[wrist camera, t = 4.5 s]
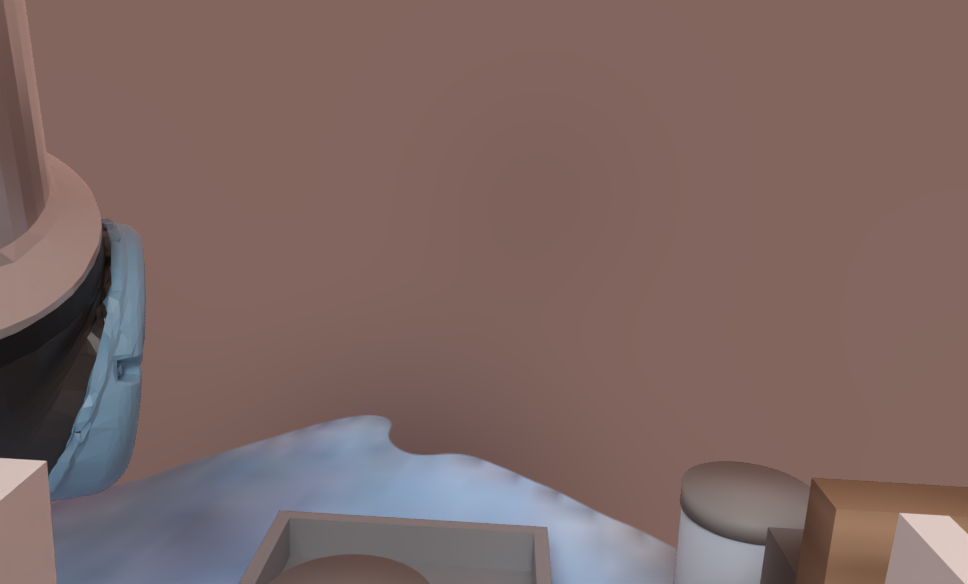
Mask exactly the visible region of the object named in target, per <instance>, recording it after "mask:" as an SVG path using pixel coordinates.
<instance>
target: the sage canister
mask: <svg viewBox="0 0 968 584" xmlns="http://www.w3.org/2000/svg"><path fill="white" fill-rule="evenodd" d="M269 584H430V583H429V582H428V581H427V580H426V579H425V577H424V576H422V575H421V574H420V573H419V572H417V571H416V570H414V569H413V568H411V567H409V566H407V565H405V564H403V563H401V562H398V561H395V560H392V559H388V558H384V557H379V556H373V555H363V554H345V555H334V556H327V557H322V558H318V559H314V560H310V561H307V562H304V563H302V564H299V565H297V566H295V567H292V568H290V569H288V570H287V571H285V572H283V573H282V574H280V575H279V576H277V577H276V578H275V579H273V580H272V581H271V582H270V583H269Z"/></svg>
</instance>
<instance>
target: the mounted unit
mask: <svg viewBox="0 0 968 584" xmlns="http://www.w3.org/2000/svg"><path fill="white" fill-rule="evenodd" d="M899 513H909V514H926V515H942V516H950V517H951V518H952V519H953V520H954V521H955V522H956V523H957V524H958V525H959V526H960V527H961V528H962V529H963V530H964V531H965V532H966V533H967V534H968V487H956V486H940V485H924V484H907V483H891V482H874V481H858V480H841V479H824V478H812V481H811V487H810V493H809V500H808V506H807V513H806V519H805V525H804V529H792V528H775V527H768V531H767V538H766V545H765V552H764V558H763V565H762V572H761V579H760V584H885V580H886V575H887V571H888V566H889V561H890V556H891V551H892V546H893V542H894V537H895V532H896V527H897V522H898V517H899Z"/></svg>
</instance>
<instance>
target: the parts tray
mask: <svg viewBox="0 0 968 584" xmlns="http://www.w3.org/2000/svg"><path fill="white" fill-rule="evenodd" d="M345 554H363V555H373V556H379V557H384V558H388V559H392V560H395V561H398V562H401V563H403V564H405V565H407V566H409V567H411V568H413V569H414V570H416V571H417V572H419V573H420V574H421V575H422V576H424V577H425V579H426V580H427V581H428V582H429V583H430V584H552V578H551V566H550V554H549V542H548V530H547V527H537V526H521V525H505V524H489V523H473V522H456V521H440V520H424V519H408V518H392V517H376V516H359V515H343V514H327V513H311V512H295V511H279V513H278V514H277V516H276V518H275V520H274V521H273V523H272V525H271V527H270V529H269V530H268V532H267V534H266V536H265V538H264V539H263V541H262V543H261V545H260V547H259V548H258V550H257V552H256V554H255V556H254V557H253V559H252V561H251V563H250V564H249V566H248V568H247V570H246V572H245V573H244V575H243V577H242V579H241V581H240V582H239V584H269V583H270V582H271V581H272V580H273V579H275V578H276V577H277V576H279V575H280V574H282V573H283V572H285V571H287V570H288V569H290V568H292V567H295V566H297V565H299V564H302V563H304V562H307V561H310V560H314V559H318V558H322V557H327V556H334V555H345Z"/></svg>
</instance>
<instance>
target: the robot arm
mask: <svg viewBox="0 0 968 584" xmlns="http://www.w3.org/2000/svg"><path fill="white" fill-rule="evenodd" d="M145 293H146V292H145V263H144V251H143V246H142V241H141V237H140V235H139V234H138V233H137V231H136V230H135V229H134V228H132V227H130V226H129V225H126V224H119V223H114V222H113V221H111V220H109V219H101V216H100V212H99V210H98V207H97V204H96V201H95V199H94V196H93V194H92V192H91V190H90V189H89V187H88V186H87V185H86V183H85V182H84V181H83V180H82V178H81V177H80V176H79V175H78V174H77V173H75V172H74V171H73V170H72V169H71V168H70V167H69V166H67V165H66V164H64V163H63V162H62V161H60V160H59V159H57V158H56V157H54V156H52V155H50V154H49V153H47V152H46V146H45V140H44V132H43V125H42V118H41V111H40V104H39V97H38V90H37V83H36V75H35V69H34V61H33V55H32V47H31V40H30V33H29V26H28V19H27V12H26V5H25V0H0V584H57V579H56V566H55V554H54V542H53V530H52V517H51V505H50V502H51V501H57V500H63V499H69V498H74V497H80V496H86V495H91V494H96V493H99V492H101V491H103V490H105V489H107V488H109V487H110V486H112V485H113V484H114V483H115V482H116V481H117V480H118V479H119V478H120V477H121V476H122V474H123V473H124V472H125V470H126V468H127V466H128V464H129V462H130V458H131V455H132V452H133V448H134V444H135V438H136V432H137V425H138V417H139V408H140V398H141V384H142V376H141V369H140V364H141V362H142V356H143V345H144V339H145V303H146V295H145ZM885 584H968V534H967V533H966V532H965V531H964V530H963V529H962V528H961V527H960V526H959V525H958V524H957V523H956V522H955V521H954V520H953V519H952V518H951V517H950V516H942V515H926V514H909V513H899V517H898V522H897V527H896V532H895V537H894V542H893V546H892V551H891V556H890V561H889V566H888V571H887V575H886V580H885Z"/></svg>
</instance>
